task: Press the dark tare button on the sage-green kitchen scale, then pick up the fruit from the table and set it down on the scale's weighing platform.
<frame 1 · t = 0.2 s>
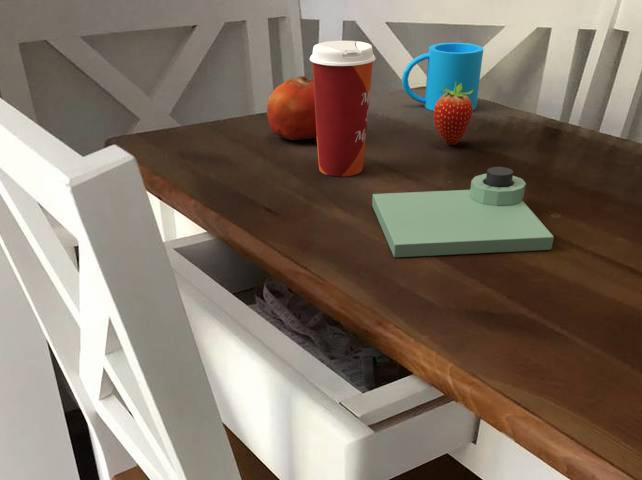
fruit: (449, 146, 101), on the table
tomato: (300, 139, 104), on the table
tare button: (499, 178, 80), point 3 cm above the table, slide at 0.1 cm
mug: (438, 107, 116), on the table
paper cup: (340, 170, 94), on the table
scale: (456, 226, 79), on the table
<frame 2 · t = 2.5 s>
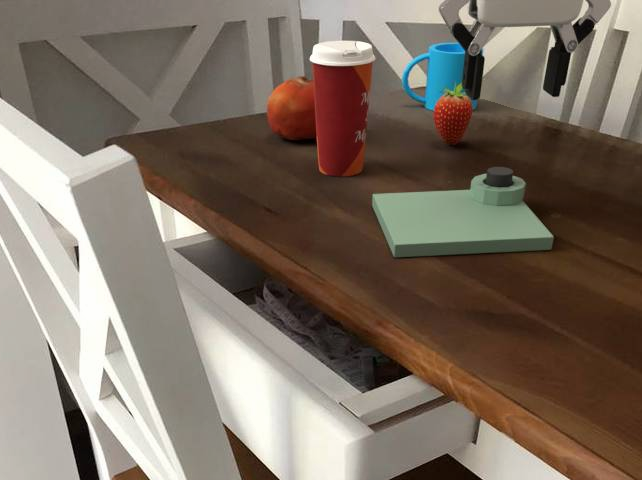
hand: (511, 94, 75), 12 cm above the table, tool pointing down, fingers open, 7 cm apart
nothing on the table moved.
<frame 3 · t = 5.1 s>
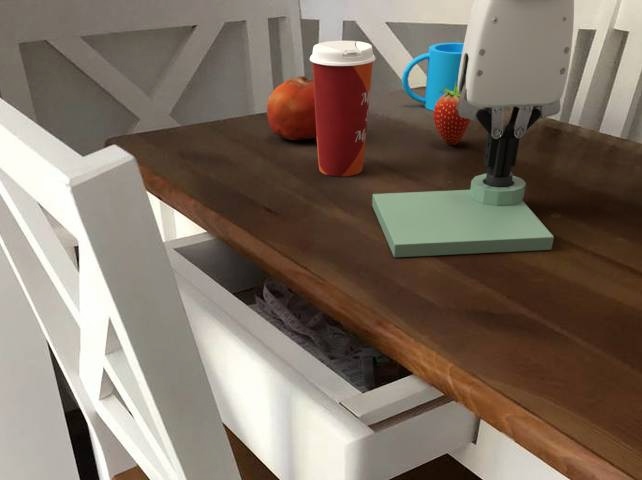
hand: (497, 172, 80), 4 cm above the table, tool pointing down, fingers closed
tare button: (498, 180, 80), point 3 cm above the table, slide at -0.1 cm, touching gripper
everything else where it was.
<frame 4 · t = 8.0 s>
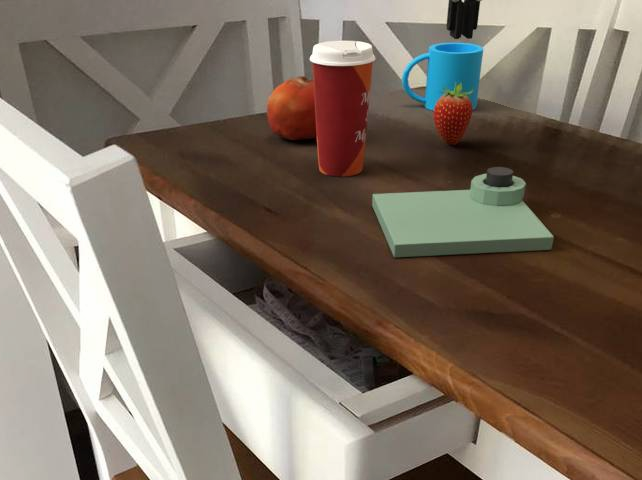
hand: (460, 36, 92), 13 cm above the table, tool pointing down, fingers closed
tare button: (499, 178, 80), point 3 cm above the table, slide at 0.1 cm
everything else where it was.
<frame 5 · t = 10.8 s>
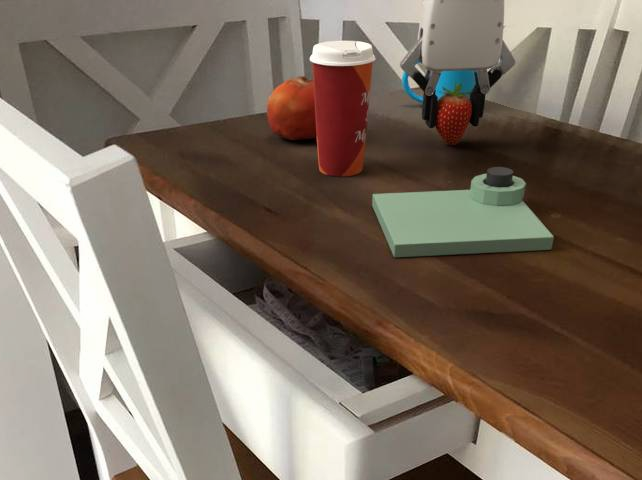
hand: (451, 123, 99), 3 cm above the table, tool pointing down, fingers closed on fruit, 5 cm apart
fruit: (448, 146, 101), on the table, touching gripper
everything else where it was.
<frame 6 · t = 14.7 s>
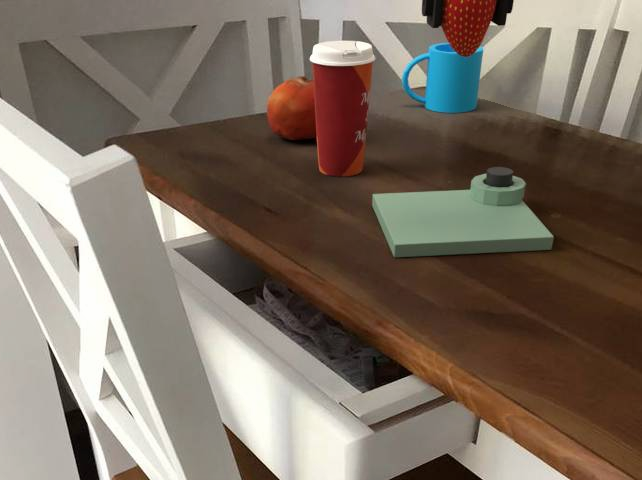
hand: (465, 22, 67), 19 cm above the table, tool pointing down, fingers closed on fruit, 5 cm apart
fruit: (461, 59, 69), point 16 cm above the table, touching gripper
everything else where it was.
when the fingers open (4 cm above the table, at t = 18.9 s): fruit stays where it is, resting on scale.
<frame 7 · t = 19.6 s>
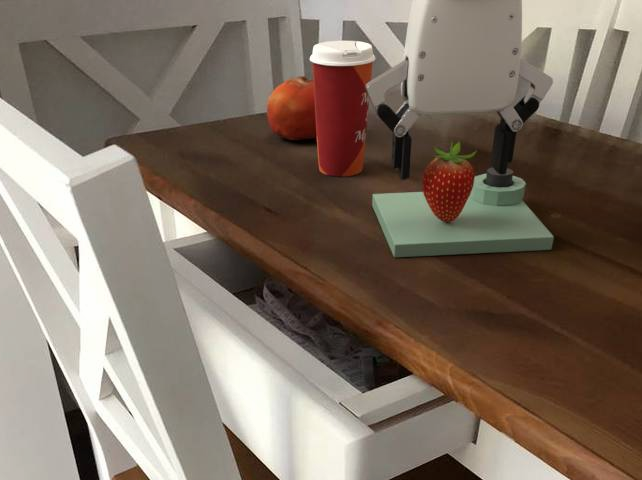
hand: (450, 172, 73), 6 cm above the table, tool pointing down, fingers open, 9 cm apart
fruit: (443, 223, 76), point 1 cm above the table, touching scale
everything else where it was.
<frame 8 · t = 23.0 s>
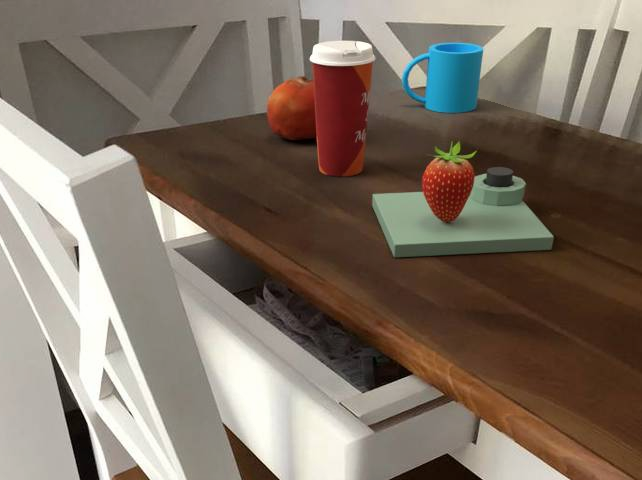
nothing on the table moved.
at the end: tare button pushed in 0.9 cm at the most during the clip, back to where it started at the end; fruit inside the target area on the scale (2.7 cm from its centre), point 1.2 cm above the scale's base; fruit touching scale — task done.
